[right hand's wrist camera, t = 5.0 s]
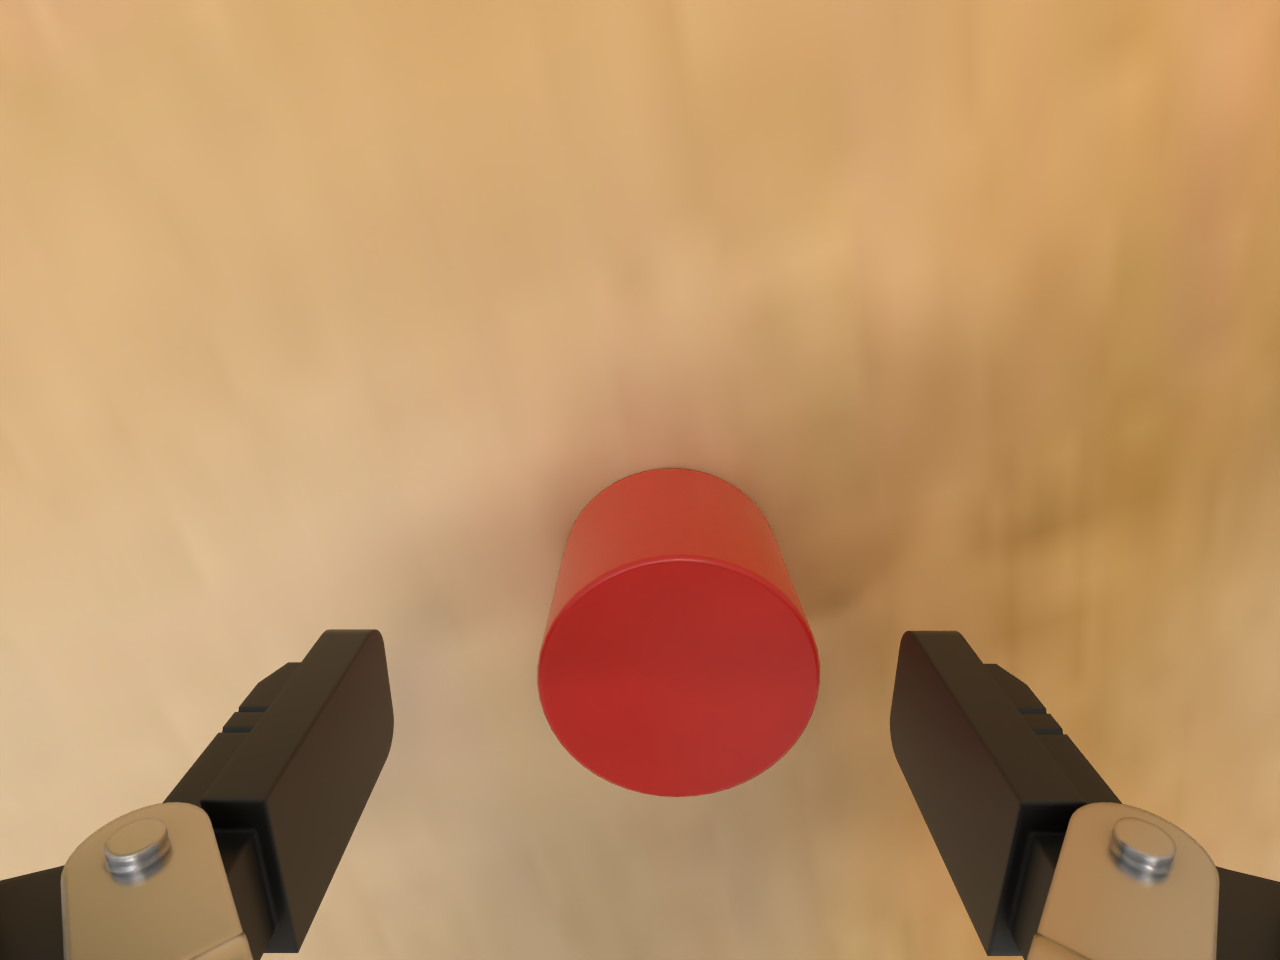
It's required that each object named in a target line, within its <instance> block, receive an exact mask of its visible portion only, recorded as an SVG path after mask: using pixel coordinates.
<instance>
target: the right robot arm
mask: <svg viewBox="0 0 1280 960" xmlns="http://www.w3.org/2000/svg"><path fill="white" fill-rule="evenodd" d="M393 727H394V716H393V707H392V700H391V692H390V685H389V678H388V670H387V663H386V656H385V648H384V642H383V638H382V635H381V633H380V632H379V631H378V630H326V631H325V632H324V633H323V634H322V635H321V636H320V638H319V639H318V641H317V642H316V643H315V645H314V646H313V647H312V649H311V650H310V651H309V653H308V654H307V655H306V657H305V658H304V659H303V661H302V662H301V663H287V664H286V665H284V666H283V667H281V668H280V669H278V670H277V671H275V672H274V673H272V674H271V675H269V676H268V677H266V678H265V679H264V680H262V681H261V682H259V683H258V684H257V685H256V686H255V688H254V689H253V690H252V691H251V693H250V694H249V695H248V696H247V698H246V699H245V700H244V702H243V703H242V704H241V705H240V707H239V711H238V712H235V713H234V714H233V715H232V717H231V718H230V719H229V720H228V722H227V723H226V724H225V725H224V727H223V731H222V733H218V734H217V735H216V737H215V738H214V739H213V740H212V742H211V743H210V744H209V745H208V747H207V748H206V749H205V750H204V752H203V753H202V754H201V755H200V757H199V758H198V759H197V760H196V762H195V763H194V764H193V765H192V767H191V768H190V769H189V771H188V772H187V773H186V774H185V776H184V777H183V778H182V779H181V781H180V782H179V783H178V784H177V786H176V787H175V788H174V789H173V791H172V792H171V793H170V794H169V796H168V797H167V798H166V799H165V801H164V802H163V803H161V804H155V805H151V806H147V807H144V808H141V809H138V810H135V811H132V812H130V813H127V814H125V815H123V816H121V817H119V818H117V819H115V820H113V821H111V822H109V823H108V824H106V825H105V826H103V827H101V828H100V829H98V830H97V831H96V832H94V833H93V834H92V835H90V836H89V837H88V838H87V839H86V840H85V841H84V842H82V843H81V844H80V845H79V846H78V847H77V848H76V850H75V851H74V852H73V853H72V855H71V856H70V857H69V859H68V861H67V862H66V864H65V865H64V866H60V867H56V868H52V869H48V870H43V871H39V872H35V873H31V874H27V875H22V876H18V877H14V878H10V879H6V880H1V881H0V960H260V959H261V957H262V955H263V953H298V952H299V950H300V948H301V945H302V943H303V941H304V939H305V937H306V934H307V932H308V930H309V928H310V926H311V923H312V921H313V919H314V917H315V915H316V913H317V910H318V908H319V906H320V904H321V902H322V899H323V897H324V895H325V893H326V891H327V888H328V886H329V884H330V882H331V880H332V877H333V875H334V873H335V871H336V869H337V867H338V864H339V862H340V860H341V858H342V856H343V853H344V851H345V849H346V847H347V845H348V842H349V840H350V838H351V836H352V834H353V831H354V829H355V827H356V825H357V823H358V821H359V818H360V816H361V814H362V812H363V810H364V807H365V805H366V803H367V801H368V799H369V796H370V794H371V792H372V790H373V788H374V786H375V783H376V781H377V779H378V777H379V775H380V772H381V770H382V768H383V766H384V764H385V761H386V759H387V757H388V754H389V751H390V747H391V743H392V737H393ZM890 732H891V740H892V746H893V750H894V753H895V756H896V759H897V761H898V763H899V765H900V768H901V770H902V772H903V774H904V776H905V778H906V781H907V783H908V785H909V787H910V789H911V791H912V794H913V796H914V798H915V800H916V802H917V804H918V807H919V809H920V811H921V813H922V815H923V817H924V820H925V822H926V824H927V826H928V828H929V830H930V833H931V835H932V837H933V839H934V841H935V843H936V846H937V848H938V850H939V852H940V854H941V856H942V858H943V861H944V863H945V865H946V867H947V869H948V871H949V874H950V876H951V878H952V880H953V882H954V884H955V887H956V889H957V891H958V893H959V895H960V897H961V900H962V902H963V904H964V906H965V908H966V910H967V913H968V915H969V917H970V919H971V921H972V923H973V926H974V928H975V930H976V932H977V934H978V936H979V939H980V941H981V943H982V945H983V947H984V949H985V952H986V954H987V956H1023V958H1024V960H1280V882H1278V881H1273V880H1269V879H1265V878H1261V877H1257V876H1252V875H1248V874H1244V873H1240V872H1236V871H1231V870H1227V869H1224V868H1220V867H1217V866H1215V864H1214V862H1213V861H1212V859H1211V857H1210V856H1209V855H1208V853H1207V852H1206V851H1205V850H1204V848H1203V847H1202V846H1201V845H1200V844H1199V843H1198V842H1196V841H1195V840H1194V839H1193V838H1192V837H1191V836H1190V835H1188V834H1187V833H1186V832H1184V831H1183V830H1182V829H1180V828H1179V827H1177V826H1175V825H1174V824H1172V823H1171V822H1169V821H1167V820H1165V819H1163V818H1161V817H1159V816H1157V815H1155V814H1153V813H1150V812H1148V811H1145V810H1142V809H1139V808H1136V807H1133V806H1129V805H1125V804H1122V803H1121V801H1120V800H1119V799H1118V798H1117V796H1116V795H1115V794H1114V793H1113V792H1112V790H1111V789H1110V788H1109V787H1108V785H1107V784H1106V783H1105V782H1104V780H1103V779H1102V778H1101V777H1100V775H1099V774H1098V773H1097V772H1096V770H1095V769H1094V768H1093V767H1092V765H1091V764H1090V763H1089V762H1088V760H1087V759H1086V758H1085V757H1084V755H1083V754H1082V753H1081V752H1080V750H1079V749H1078V748H1077V747H1076V746H1075V744H1074V743H1073V742H1072V741H1071V739H1070V738H1069V737H1068V736H1067V735H1063V732H1062V728H1061V727H1060V726H1059V724H1058V723H1057V722H1056V721H1055V719H1054V718H1053V717H1052V716H1051V714H1047V713H1046V708H1045V707H1044V706H1043V704H1042V703H1041V702H1040V701H1039V700H1038V698H1037V697H1036V696H1035V695H1034V693H1033V692H1032V691H1031V690H1030V688H1029V687H1028V686H1027V685H1026V684H1025V683H1023V682H1022V681H1020V680H1019V679H1017V678H1016V677H1014V676H1013V675H1012V674H1010V673H1009V672H1007V671H1006V670H1004V669H1003V668H1001V667H1000V666H998V665H997V664H983V663H982V661H981V660H980V659H979V657H978V656H977V655H976V653H975V652H974V651H973V649H972V648H971V647H970V645H969V644H968V643H967V641H966V640H965V639H964V637H963V636H962V635H961V634H960V633H959V632H957V631H906V632H905V633H904V635H903V637H902V639H901V643H900V649H899V656H898V663H897V671H896V678H895V685H894V692H893V700H892V707H891V715H890Z"/></svg>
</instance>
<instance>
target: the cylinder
mask: <svg viewBox="0 0 1280 960" xmlns="http://www.w3.org/2000/svg"><path fill="white" fill-rule="evenodd" d="M537 684H538V691H539V698H540V701H541V705H542V708H543V711H544V714H545V716H546V719H547V721H548V723H549V725H550V727H551V729H552V731H553V732H554V734H555V735H556V737H557V738H558V740H559V741H560V743H561V744H562V745H563V746H564V748H565V749H566V750H567V751H568V752H569V753H570V755H571V756H573V757H574V758H575V759H576V760H577V761H578V762H579V763H580V764H582V765H583V766H584V767H586V768H587V769H588V770H590V771H591V772H593V773H594V774H596V775H597V776H599V777H601V778H603V779H605V780H607V781H609V782H611V783H613V784H615V785H618V786H621V787H623V788H626V789H629V790H633V791H636V792H640V793H644V794H650V795H657V796H669V797H685V796H698V795H704V794H710V793H715V792H718V791H722V790H726V789H729V788H732V787H734V786H737V785H739V784H742V783H744V782H746V781H748V780H750V779H752V778H754V777H756V776H757V775H759V774H761V773H762V772H764V771H765V770H767V769H768V768H770V767H771V766H772V765H774V764H775V763H776V762H777V761H778V760H779V759H781V758H782V757H783V756H784V755H785V754H786V753H787V752H788V751H789V750H790V748H791V747H792V746H793V745H794V744H795V743H796V741H797V740H798V738H799V737H800V735H801V734H802V732H803V731H804V729H805V728H806V726H807V724H808V721H809V719H810V717H811V715H812V713H813V710H814V706H815V703H816V700H817V697H818V690H819V684H820V662H819V656H818V650H817V646H816V643H815V640H814V637H813V634H812V631H811V629H810V626H809V624H808V621H807V619H806V616H805V613H804V611H803V608H802V606H801V603H800V601H799V598H798V596H797V593H796V591H795V588H794V586H793V583H792V581H791V578H790V576H789V573H788V570H787V568H786V565H785V563H784V560H783V558H782V555H781V553H780V550H779V548H778V545H777V543H776V540H775V538H774V535H773V532H772V530H771V528H770V526H769V524H768V522H767V520H766V519H765V517H764V516H763V514H762V513H761V511H760V510H759V508H758V507H757V506H756V505H755V504H754V503H753V502H752V501H751V500H750V499H749V498H748V497H747V496H746V495H745V494H744V493H742V492H741V491H740V490H739V489H737V488H735V487H734V486H732V485H731V484H729V483H728V482H726V481H723V480H721V479H719V478H717V477H715V476H712V475H709V474H705V473H702V472H698V471H693V470H687V469H673V468H670V469H656V470H651V471H646V472H641V473H638V474H635V475H632V476H629V477H626V478H624V479H622V480H620V481H618V482H616V483H614V484H613V485H611V486H609V487H608V488H606V489H605V490H603V491H602V492H601V493H600V494H598V495H597V496H596V497H595V498H594V499H593V500H592V501H591V502H590V503H589V504H588V505H587V506H586V507H585V508H584V509H583V511H582V512H581V514H580V515H579V517H578V518H577V520H576V521H575V523H574V525H573V527H572V529H571V531H570V533H569V536H568V539H567V543H566V546H565V550H564V554H563V558H562V562H561V566H560V571H559V575H558V579H557V583H556V587H555V591H554V596H553V600H552V604H551V608H550V612H549V616H548V621H547V625H546V629H545V633H544V637H543V641H542V646H541V650H540V655H539V661H538V670H537Z"/></svg>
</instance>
